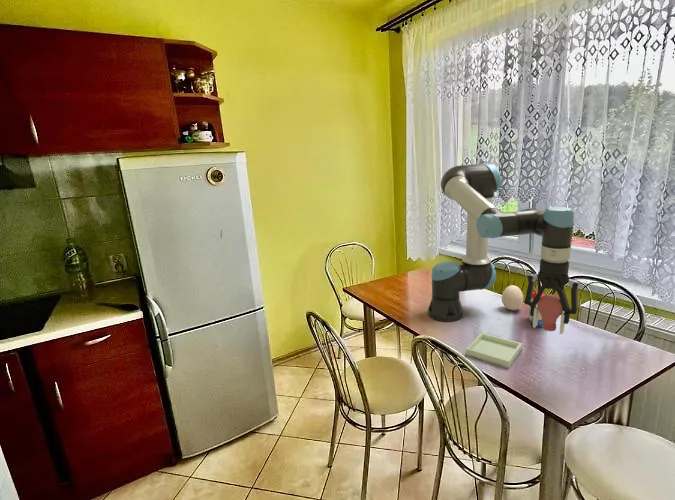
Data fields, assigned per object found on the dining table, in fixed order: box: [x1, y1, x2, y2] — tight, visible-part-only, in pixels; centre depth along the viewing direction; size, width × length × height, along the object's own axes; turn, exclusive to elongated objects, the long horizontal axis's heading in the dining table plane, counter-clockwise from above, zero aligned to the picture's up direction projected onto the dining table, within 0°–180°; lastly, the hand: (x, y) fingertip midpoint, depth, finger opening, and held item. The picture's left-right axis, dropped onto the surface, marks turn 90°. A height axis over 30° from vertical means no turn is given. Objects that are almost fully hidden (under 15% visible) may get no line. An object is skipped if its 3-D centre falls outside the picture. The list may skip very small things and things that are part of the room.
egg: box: [501, 284, 524, 311], centre depth 163 cm, size 9×9×12 cm
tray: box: [465, 332, 523, 369], centre depth 132 cm, size 15×15×2 cm
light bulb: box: [537, 293, 564, 332], centre depth 115 cm, size 7×7×12 cm
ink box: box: [527, 288, 545, 327], centre depth 150 cm, size 8×5×15 cm, turn 168°
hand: (548, 328), depth 116 cm, fingers closed on light bulb, 7 cm apart
